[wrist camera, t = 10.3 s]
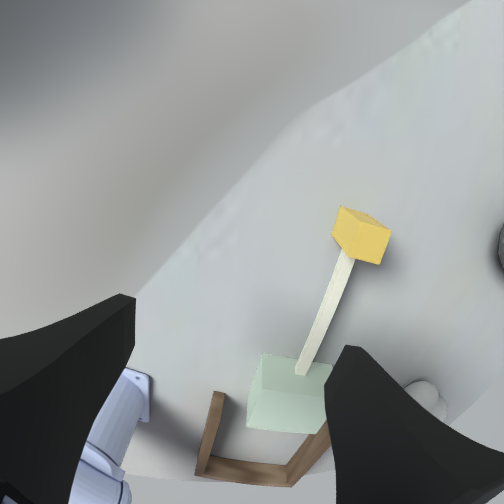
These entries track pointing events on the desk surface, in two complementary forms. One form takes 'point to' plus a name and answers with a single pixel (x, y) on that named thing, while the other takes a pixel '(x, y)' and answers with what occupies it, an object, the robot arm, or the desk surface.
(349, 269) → the tethered block
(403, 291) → the desk surface
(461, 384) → the desk surface
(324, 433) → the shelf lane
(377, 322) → the desk surface
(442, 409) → the smooth white sculpture
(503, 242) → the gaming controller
